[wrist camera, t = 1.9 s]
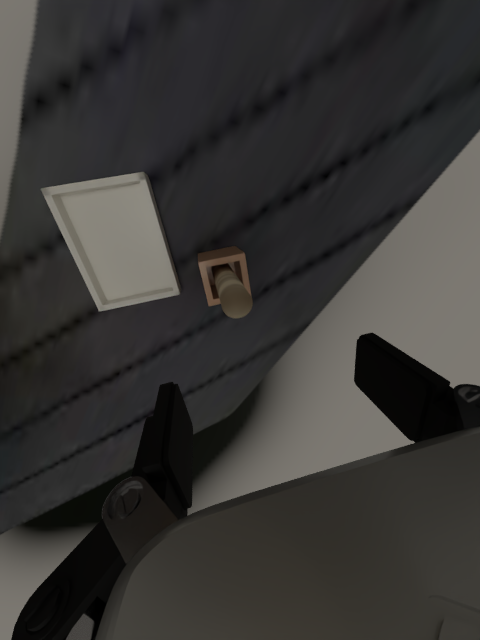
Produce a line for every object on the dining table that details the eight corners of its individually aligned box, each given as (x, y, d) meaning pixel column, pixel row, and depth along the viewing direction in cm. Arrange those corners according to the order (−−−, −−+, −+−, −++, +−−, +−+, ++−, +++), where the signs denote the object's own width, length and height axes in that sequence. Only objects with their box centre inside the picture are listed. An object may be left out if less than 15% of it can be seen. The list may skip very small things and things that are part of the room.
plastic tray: (54, 191, 29) (40, 188, 27) (148, 175, 30) (143, 171, 28) (106, 304, 36) (99, 311, 33) (181, 288, 37) (179, 294, 35)
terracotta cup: (197, 253, 35) (198, 262, 28) (234, 245, 36) (244, 253, 29) (206, 289, 38) (208, 306, 31) (241, 282, 39) (251, 296, 31)
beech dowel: (209, 262, 35) (218, 292, 21) (228, 258, 36) (250, 285, 21) (213, 280, 37) (225, 321, 22) (231, 276, 37) (254, 314, 23)
